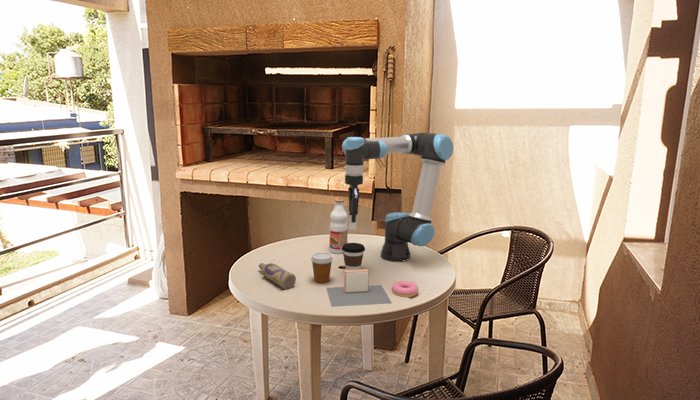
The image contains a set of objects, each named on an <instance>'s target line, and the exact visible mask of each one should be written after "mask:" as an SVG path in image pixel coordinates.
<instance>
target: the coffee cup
mask: <svg viewBox="0 0 700 400" xmlns="http://www.w3.org/2000/svg"><path fill="white" fill-rule="evenodd" d="M342 250H343V252H344V253H342V254H343V261H344V266H345V270H361V267H362V262H363V259H364V252H365V251H366V247H365V245H363V244H362V243H359V242H347V244H344V245H343V247H342Z"/></svg>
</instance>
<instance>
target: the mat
mask: <svg viewBox="0 0 700 400" xmlns="http://www.w3.org/2000/svg"><path fill="white" fill-rule="evenodd" d="M325 288H326V292H327V295H328V300H329V303H330V307H331V308H333V307H334V308H335V307H349V306H351V307H352V306H369V305H387V304H388V305H389V304H393V302H392V301H391V299H390V296H389V295H388V293H387V292H386V290H385V289H384V287H383V285H382V284H378V285H376V284H375V285H374V284H373V285H369V290H368V292H349V293H345V292H344V286H337V287H336V286H335V287H325Z"/></svg>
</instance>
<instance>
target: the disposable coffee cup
mask: <svg viewBox="0 0 700 400" xmlns="http://www.w3.org/2000/svg"><path fill="white" fill-rule="evenodd" d="M310 260H311V263H312V269H313V271H312V273H313V277H314V278H313V279H314V282H315V283H317V284H327V283H329V281H330V278H331V277H330V276H331V271H332V264H333V263H332V262H333V260H334V257H333V256H332V254H330V253H328V252H316V253H313V254H312V255H311V257H310Z"/></svg>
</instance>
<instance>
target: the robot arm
mask: <svg viewBox="0 0 700 400" xmlns="http://www.w3.org/2000/svg"><path fill="white" fill-rule="evenodd" d="M341 150H342V151H343V153H344V154H345V157H344V158H345V161H344V162H345V166H344V167H343V169H344V170H345V171H344V172H345V175H344V184H345V185H348V186H349V187H348V191H347V192H348V211H349V213H348V215H349V223H348V226H349V230H353V231H354V230H357V217H358V216H357V215H358V213H359V202H360V188H358V187H359V186H360V185H363V184H364V176H363V174H364V161H365V160H379V159H384V158H385V157H386V155H387V154H399V153H401V154H403V155H414V156H418V157H420V161H421V162H422V167H421V170H420V171H421V172H420V176H419V179H418V184H417V187H416V188H417V189H416V192H415V193H416V194H415V197H414V201H413V206H412V210H411V212H406V211H405V212H403V211H402V212H396V211H395V212H389V213H387V214H386V216H385V220H384V221H385V222H384V224H385V225H384V243H383V245H382V248H381V251H380V258H382V259H383V260H385V261H388V260H389V262H396V261H400V262H404V261H403V260H406V261H408V260H407V259H409V258H410V259H411V251H410V247H409V244H412V245H413V246H417V247H425V246H427V245H428V244H430V242H431V241H432V240H433V238H434V235H435V227H434V225H433V224H432V221H433V219H432V217H431V211H432V206H433V202H434V197H435V194H436V190H437V184H438V180H439V176H440V173H441V168H442V167H443V166H445V164H446V161H447V160H449V159H450V158H451V157H452V156H453V153H454V143H453V141H452V139H451V137H449V136H448V135H446V134H442V133H433V132H415V133H409V134H408V133H407V134H402V135H400V136H391V137H387V136H386V137H367V138H364V137H361V136H349V137H347V138H346V139H344V141H342V144H341ZM410 259H409V260H410Z"/></svg>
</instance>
